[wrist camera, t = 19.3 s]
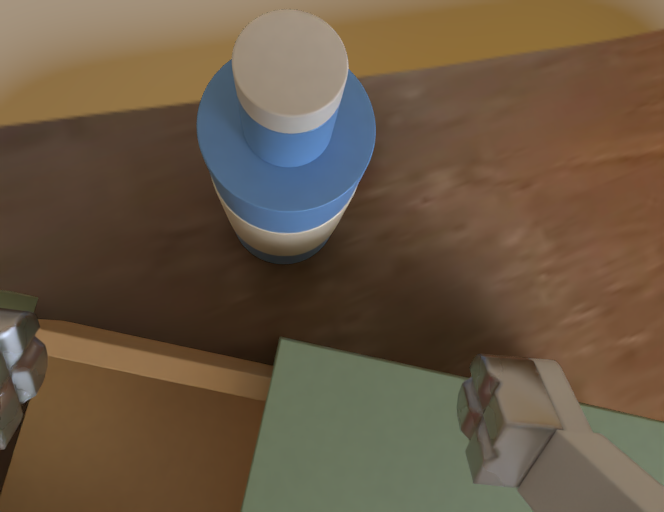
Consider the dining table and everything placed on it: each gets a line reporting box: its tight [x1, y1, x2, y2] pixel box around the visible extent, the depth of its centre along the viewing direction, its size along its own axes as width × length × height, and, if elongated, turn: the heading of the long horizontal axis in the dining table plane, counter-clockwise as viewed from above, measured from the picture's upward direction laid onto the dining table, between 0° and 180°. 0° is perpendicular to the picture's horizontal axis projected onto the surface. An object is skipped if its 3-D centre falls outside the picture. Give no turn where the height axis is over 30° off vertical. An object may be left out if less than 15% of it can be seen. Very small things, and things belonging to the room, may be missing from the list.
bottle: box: [197, 9, 376, 264], centre depth 18 cm, size 5×5×14 cm
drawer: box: [0, 290, 274, 512], centre depth 19 cm, size 18×12×7 cm
